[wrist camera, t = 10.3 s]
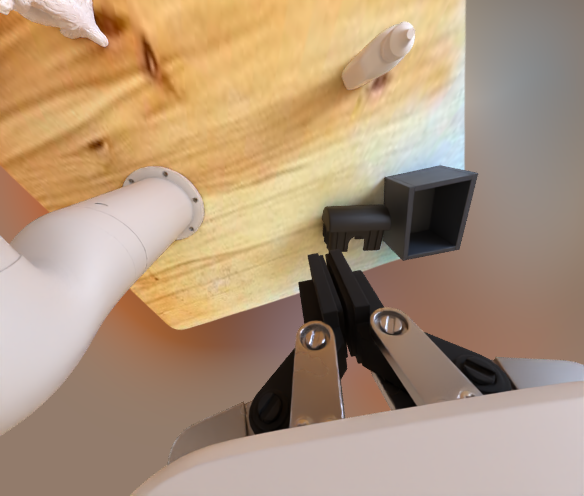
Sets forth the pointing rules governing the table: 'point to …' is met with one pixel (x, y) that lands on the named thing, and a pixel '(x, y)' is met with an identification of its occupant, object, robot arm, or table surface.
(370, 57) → the eye dropper bottle
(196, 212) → the robot arm
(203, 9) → the table surface
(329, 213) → the end cap
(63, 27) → the koala figurine
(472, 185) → the box
